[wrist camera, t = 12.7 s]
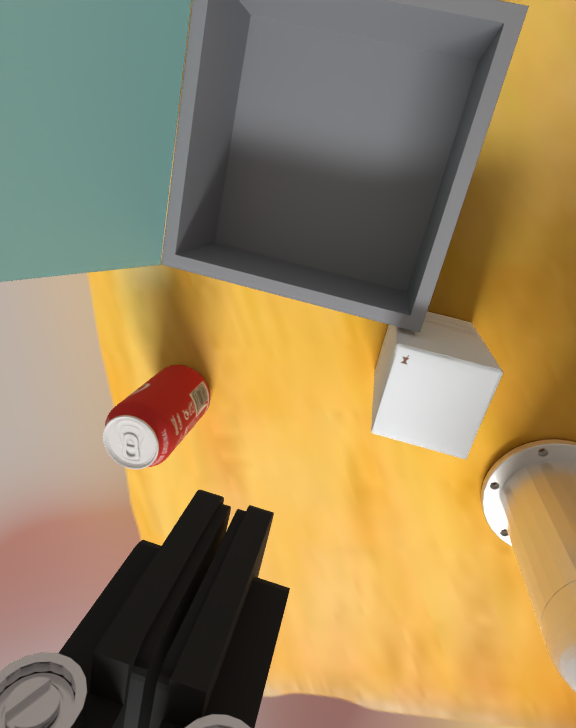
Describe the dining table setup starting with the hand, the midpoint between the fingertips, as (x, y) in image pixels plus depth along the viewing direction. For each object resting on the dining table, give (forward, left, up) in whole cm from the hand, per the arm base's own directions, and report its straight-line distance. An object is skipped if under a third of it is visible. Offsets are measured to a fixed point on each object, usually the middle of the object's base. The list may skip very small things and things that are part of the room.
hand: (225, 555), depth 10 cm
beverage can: (+14, +16, -37) cm, 43 cm away
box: (+4, -9, -37) cm, 38 cm away
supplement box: (-8, +5, -37) cm, 38 cm away
